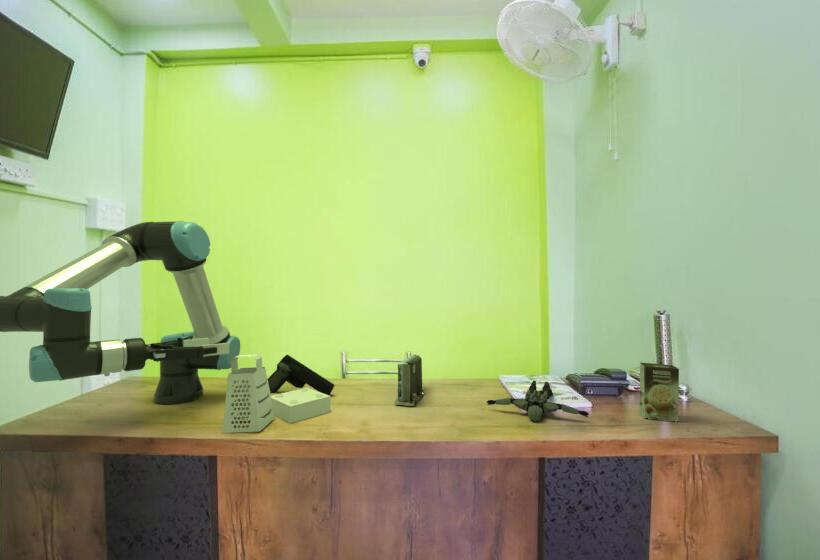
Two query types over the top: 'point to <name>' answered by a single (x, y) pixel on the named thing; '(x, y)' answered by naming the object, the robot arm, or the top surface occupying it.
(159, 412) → the top surface
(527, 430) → the top surface
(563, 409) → the toy
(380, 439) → the top surface
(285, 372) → the handgun
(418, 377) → the radio
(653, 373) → the coffee box
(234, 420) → the grater
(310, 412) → the pedestal
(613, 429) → the top surface
